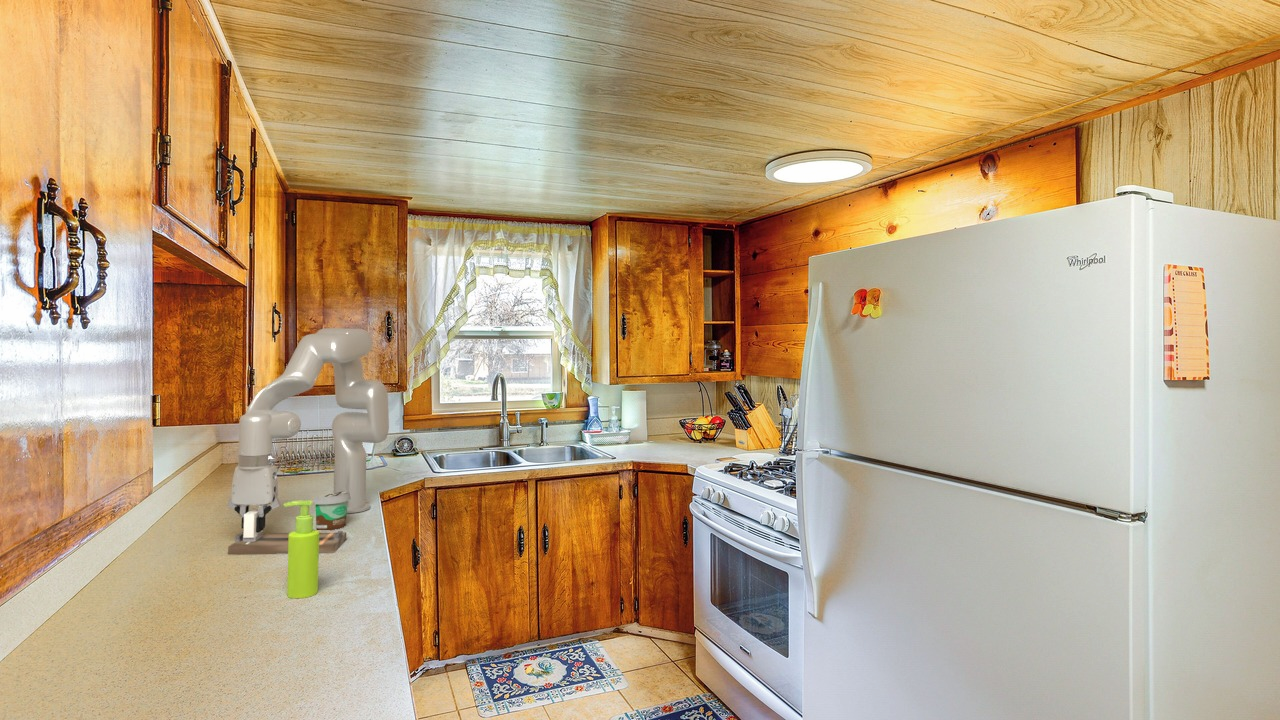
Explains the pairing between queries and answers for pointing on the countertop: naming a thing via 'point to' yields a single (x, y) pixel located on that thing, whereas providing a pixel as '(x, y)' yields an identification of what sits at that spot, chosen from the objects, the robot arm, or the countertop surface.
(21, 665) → the countertop surface
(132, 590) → the countertop surface
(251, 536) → the block
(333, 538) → the slider board
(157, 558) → the countertop surface
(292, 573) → the soap dispenser
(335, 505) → the food container
